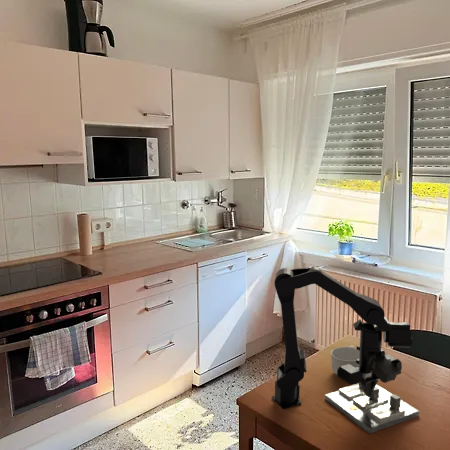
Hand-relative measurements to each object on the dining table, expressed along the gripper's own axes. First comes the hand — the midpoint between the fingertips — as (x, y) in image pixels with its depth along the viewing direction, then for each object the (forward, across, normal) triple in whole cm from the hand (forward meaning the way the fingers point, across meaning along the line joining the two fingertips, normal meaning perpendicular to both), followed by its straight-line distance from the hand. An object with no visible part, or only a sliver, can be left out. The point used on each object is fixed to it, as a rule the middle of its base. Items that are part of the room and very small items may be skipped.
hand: (368, 396), depth 119 cm
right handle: (+1, +4, -6) cm, 7 cm away
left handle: (+1, +4, +6) cm, 7 cm away
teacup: (+4, +9, +18) cm, 21 cm away
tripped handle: (+1, +2, 0) cm, 2 cm away
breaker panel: (+4, +1, 0) cm, 4 cm away
